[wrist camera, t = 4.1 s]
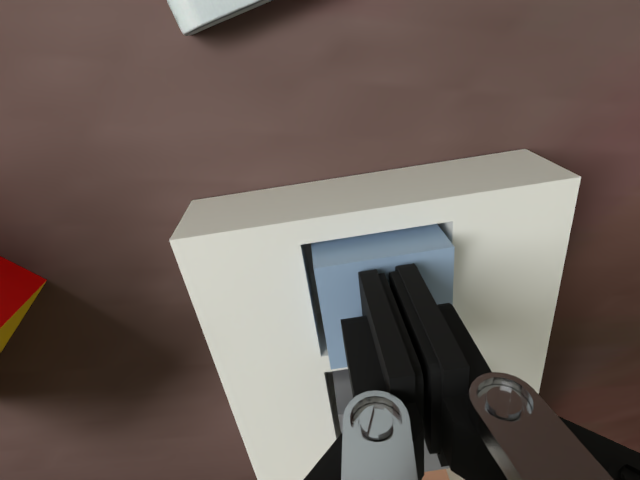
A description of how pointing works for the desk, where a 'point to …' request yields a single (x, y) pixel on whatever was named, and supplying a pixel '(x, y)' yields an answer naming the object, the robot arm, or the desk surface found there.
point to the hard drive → (208, 12)
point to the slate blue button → (384, 255)
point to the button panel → (354, 220)
